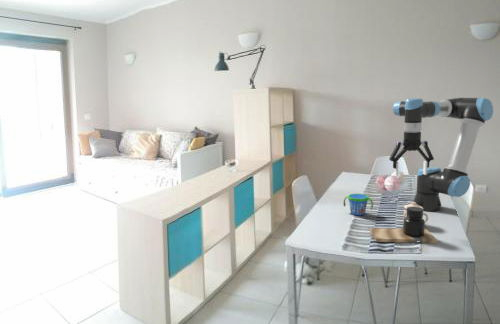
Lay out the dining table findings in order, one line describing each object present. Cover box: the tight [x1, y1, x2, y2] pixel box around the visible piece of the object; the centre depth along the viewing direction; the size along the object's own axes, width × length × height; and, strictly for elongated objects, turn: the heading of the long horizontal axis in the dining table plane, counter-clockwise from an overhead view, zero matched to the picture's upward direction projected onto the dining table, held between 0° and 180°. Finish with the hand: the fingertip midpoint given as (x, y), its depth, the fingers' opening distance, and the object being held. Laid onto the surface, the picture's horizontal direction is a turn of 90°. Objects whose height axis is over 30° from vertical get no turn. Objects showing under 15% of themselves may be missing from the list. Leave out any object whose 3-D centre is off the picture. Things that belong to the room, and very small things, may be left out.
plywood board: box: [369, 227, 438, 244], centre depth 171 cm, size 26×13×2 cm, turn 84°
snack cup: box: [343, 193, 374, 216], centre depth 203 cm, size 16×10×10 cm
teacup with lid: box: [402, 201, 429, 223], centre depth 184 cm, size 12×9×12 cm
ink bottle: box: [402, 207, 426, 237], centre depth 169 cm, size 10×9×12 cm
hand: (410, 174), depth 181 cm, fingers open, 13 cm apart
